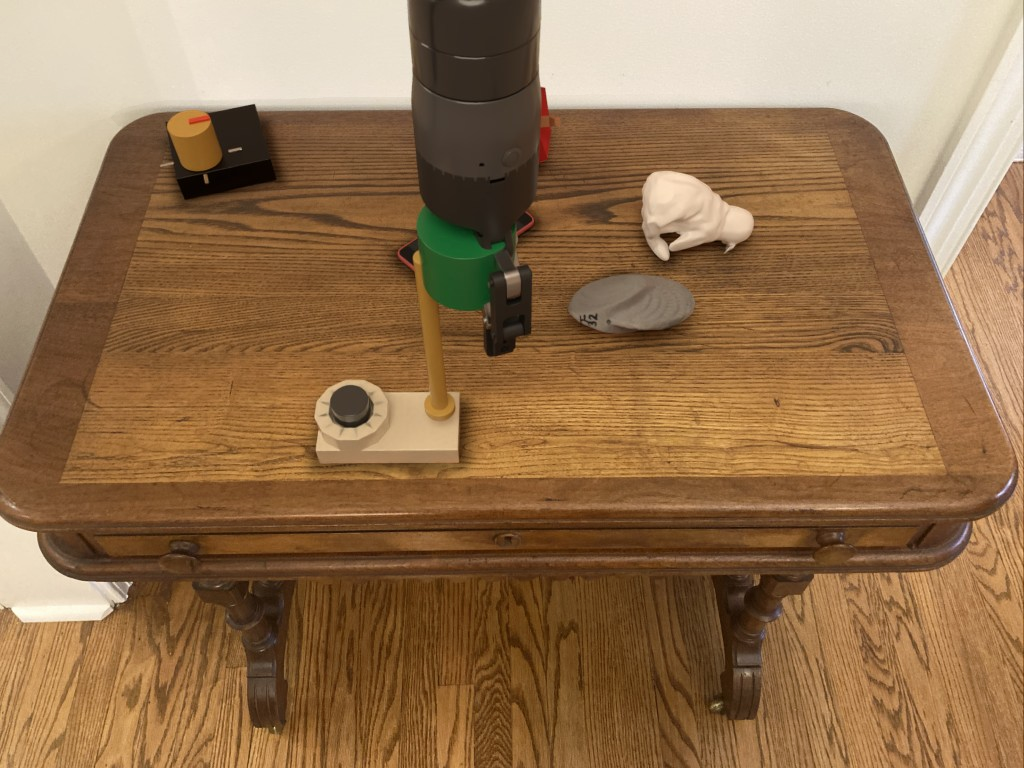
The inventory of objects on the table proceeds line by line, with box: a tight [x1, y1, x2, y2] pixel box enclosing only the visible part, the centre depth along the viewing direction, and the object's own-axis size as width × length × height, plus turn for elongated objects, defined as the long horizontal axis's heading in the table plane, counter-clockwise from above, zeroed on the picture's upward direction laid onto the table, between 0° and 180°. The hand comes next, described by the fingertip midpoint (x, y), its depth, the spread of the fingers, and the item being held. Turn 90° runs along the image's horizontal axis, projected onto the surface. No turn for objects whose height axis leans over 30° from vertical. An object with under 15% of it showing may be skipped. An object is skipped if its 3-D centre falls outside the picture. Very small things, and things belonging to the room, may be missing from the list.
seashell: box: [567, 273, 696, 335], centre depth 81 cm, size 12×6×10 cm
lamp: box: [413, 204, 517, 421], centre depth 64 cm, size 8×6×22 cm
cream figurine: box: [640, 170, 755, 262], centre depth 86 cm, size 6×8×12 cm
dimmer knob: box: [166, 109, 222, 171], centre depth 90 cm, size 4×4×5 cm
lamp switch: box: [330, 385, 371, 427], centre depth 72 cm, size 3×3×2 cm
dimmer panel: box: [159, 103, 277, 201], centre depth 94 cm, size 11×12×3 cm
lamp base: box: [313, 379, 462, 464], centre depth 74 cm, size 12×6×4 cm, turn 91°
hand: (481, 308), depth 64 cm, fingers open, 8 cm apart
